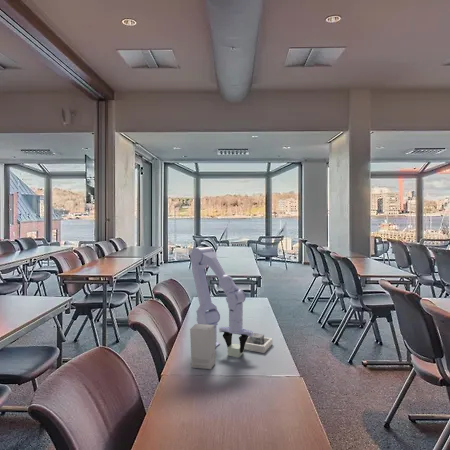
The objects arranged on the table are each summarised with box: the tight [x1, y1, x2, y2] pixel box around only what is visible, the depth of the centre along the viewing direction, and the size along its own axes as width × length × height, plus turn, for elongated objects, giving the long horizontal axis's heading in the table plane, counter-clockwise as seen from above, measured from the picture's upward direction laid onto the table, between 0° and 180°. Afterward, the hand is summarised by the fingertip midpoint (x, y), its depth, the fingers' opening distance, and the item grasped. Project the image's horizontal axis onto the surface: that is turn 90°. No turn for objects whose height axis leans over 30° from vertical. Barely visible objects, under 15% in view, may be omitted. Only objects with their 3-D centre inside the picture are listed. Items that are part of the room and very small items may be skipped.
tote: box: [244, 336, 273, 354], centre depth 167 cm, size 11×11×3 cm
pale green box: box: [227, 343, 244, 358], centre depth 158 cm, size 5×5×4 cm
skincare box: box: [189, 323, 216, 370], centre depth 147 cm, size 8×7×16 cm
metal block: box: [250, 332, 265, 345], centre depth 167 cm, size 5×5×4 cm
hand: (235, 350), depth 158 cm, fingers closed on pale green box, 5 cm apart
